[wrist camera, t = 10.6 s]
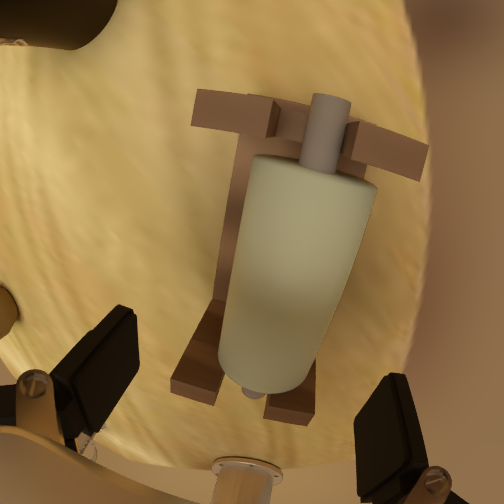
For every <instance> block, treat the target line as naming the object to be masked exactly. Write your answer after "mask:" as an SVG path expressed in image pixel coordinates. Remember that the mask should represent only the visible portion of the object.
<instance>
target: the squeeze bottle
mask: <svg viewBox="0 0 504 504" xmlns="http://www.w3.org/2000/svg"><path fill="white" fill-rule="evenodd" d="M17 317H18V310H17V307H16V304H15V302H14V300H13V299H12V297H11V295H10V294H9V293H8V292H7V290H5V289H4V288H3V287H0V339H1V338H3V337H4V336H6V335H7V334H8V333H9V332H10V330H11V328H12V326H13V324H14V322H15V320H16V319H17Z"/></svg>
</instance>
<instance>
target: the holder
mask: <svg viewBox="0 0 504 504" xmlns="http://www.w3.org/2000/svg"><path fill="white" fill-rule="evenodd" d="M310 107H311V106H309V105H305V104H300V103H296V102H291V101H286V100H281V99H276V98H271V97H265V96H259V95H253V94H247V95H245V94H238V93H231V92H223V91H214V90H205V89H197V93H196V99H195V104H194V110H193V115H192V121H191V126H196V127H203V128H210V129H217V130H223V131H229V132H235V133H240V135H239V140H238V145H237V151H236V156H235V162H234V167H233V173H232V178H231V184H230V190H229V196H228V201H227V207H226V213H225V219H224V226H223V232H222V238H221V244H220V251H219V257H218V264H217V270H216V277H215V284H214V291H213V298H212V300H211V302H210V304H209V306H208V308H207V310H206V311H205V313H204V315H203V317H202V319H201V321H200V323H199V325H198V327H197V329H196V330H195V332H194V334H193V336H192V338H191V340H190V342H189V344H188V346H187V348H186V350H185V351H184V353H183V355H182V357H181V359H180V361H179V363H178V365H177V367H176V369H175V371H174V373H173V375H172V377H171V378H170V379H171V393H174V394H177V395H180V396H183V397H186V398H189V399H192V400H195V401H199V402H202V403H205V404H209V405H212V406H214V404H215V401H216V398H217V395H218V392H219V389H220V386H221V383H222V380H223V377H224V374H225V372H224V371H223V369H222V367H221V365H220V363H219V359H218V349H219V343H220V337H221V331H222V325H223V319H224V313H225V307H226V302H227V296H228V290H229V284H230V279H231V273H232V267H233V262H234V256H235V251H236V245H237V240H238V234H239V229H240V223H241V218H242V213H243V207H244V202H245V197H246V191H247V186H248V181H249V176H250V170H251V165H252V160H253V155H256V154H268V155H277V156H284V157H290V158H295V159H299V157H300V153H301V148H302V144H303V139H304V134H305V130H306V125H307V121H308V116H309V111H310ZM428 148H429V145H426V144H424V143H421V142H419V141H416V140H414V139H411V138H409V137H406V136H403V135H401V134H398V133H395V132H393V131H390V130H387V129H384V128H381V127H378V126H376V124H373V123H370V122H367V121H364V120H360V119H357V118H354V117H351V116H349V117H348V121H347V126H346V130H345V135H344V139H343V143H342V148H341V152H340V156H339V160H338V164H337V168H336V169H337V170H340V171H343V172H346V173H349V174H352V175H354V176H357V177H359V178H362V179H363V178H364V174H365V170H366V167H367V164H369V165H372V166H375V167H378V168H381V169H384V170H387V171H390V172H393V173H396V174H399V175H402V176H405V177H407V178H410V179H413V180H416V181H418V182H420V178H421V175H422V171H423V167H424V164H425V160H426V156H427V152H428ZM315 382H316V357H315V359H314V361H313V364H312V366H311V368H310V370H309V372H308V374H307V376H306V378H305V380H304V381H303V382H302V383H301V384H300V385H299V386H297V387H296V388H294V389H292V390H290V391H287V392H283V393H275V394H267V400H266V405H265V411H264V416H263V418H264V419H269V420H274V421H279V422H285V423H290V424H296V425H302V426H307V425H308V424H309V422H310V421H311V419H312V418H313V416H314V415H315Z"/></svg>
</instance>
